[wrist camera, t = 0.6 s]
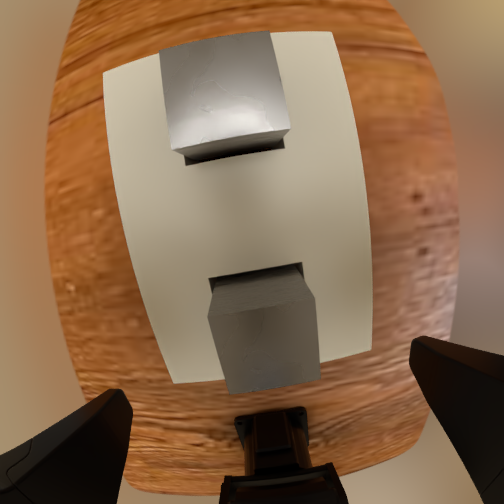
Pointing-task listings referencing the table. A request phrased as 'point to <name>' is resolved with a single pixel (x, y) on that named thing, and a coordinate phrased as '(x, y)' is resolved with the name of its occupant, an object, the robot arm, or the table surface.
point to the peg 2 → (265, 329)
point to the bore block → (245, 207)
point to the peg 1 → (223, 95)
